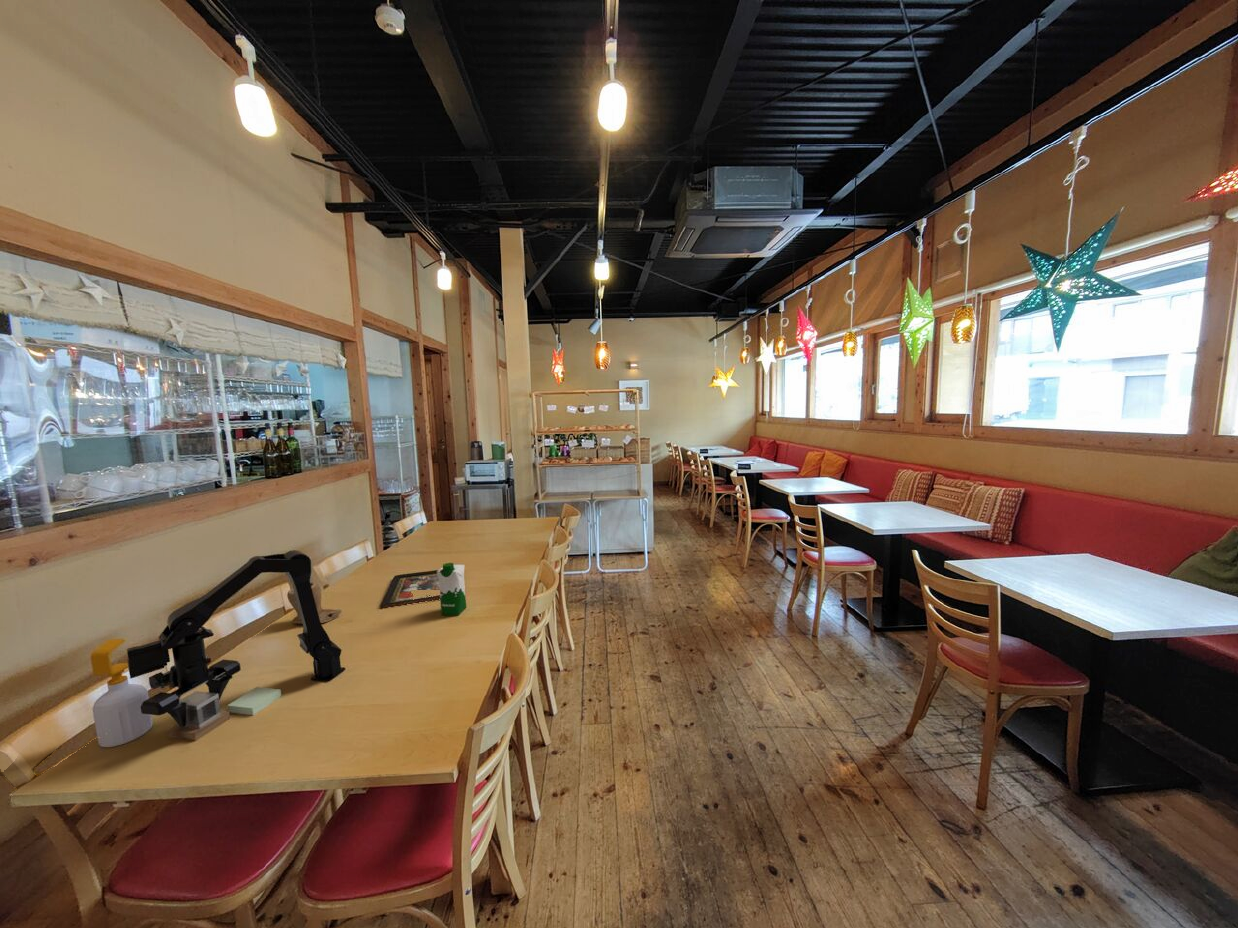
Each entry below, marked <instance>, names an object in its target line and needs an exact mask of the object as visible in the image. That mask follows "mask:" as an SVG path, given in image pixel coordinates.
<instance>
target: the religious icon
mask: <svg viewBox="0 0 1238 928" xmlns="http://www.w3.org/2000/svg"><path fill="white" fill-rule="evenodd" d="M438 570H439V569H436V570H435V569H434V570H427V571H421V572H420V571H418V572H410V573H402V574H397V575H394V576H393V578H392V580H391V581H390V584H389V586H388V587H387V590H386V592H385V595H384V597H383V599H382V601H381V603H380V609H382V610H383V608H384V609H389V608H388V607H391V608H395V607H394V606H398V607H402V606H401V605H405V606H408V605H407V604H411V605H414V604H413V603H418V604H420V603H419V602H425V601H432V600H438V601H440V600H439V599H440V595H436V596H433V597H432V596H431V597H428V596H427V595H426V596H427V597H426V598H425V597H424V598H423V597H421V598H418V599H414V600H413V594H412V593H411V590H440V589H439V579H438V574H437V571H438ZM411 594H412V595H411ZM429 596H430V595H429ZM432 602H433V601H432ZM425 603H426V602H425Z"/></svg>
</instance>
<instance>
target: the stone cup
mask: <svg viewBox="0 0 1238 928" xmlns="http://www.w3.org/2000/svg"><path fill="white" fill-rule="evenodd" d="M310 584H311V588H312V591H313V595H314V599H315V603H316V607H317V611H318V615H319V619H320V622H321V624H324V623H328V622H331V621H332V620H334V619H335V618H338V616H340V615H341V613H342V612H343V610H342V609H331V608H330V609H329V608H328V609H327V608H326V609H323V607H322V593H321V587H320V586H319V584H317V582H314V581H310ZM286 596H287V600H288V602H289V604H290V605H291V606H292V607H293V609H294V610H295V611H296V616H295V617H293V618H292V620H291V622H292V623H293V624H300V625H301V624H302V625H303V623H302V619H301V616H300V612H299V608H298V604H297V601H296V597H295V593H294V589H293V587H292V588H290V589H289V590H288V592H287V595H286Z"/></svg>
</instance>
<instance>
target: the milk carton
mask: <svg viewBox="0 0 1238 928" xmlns="http://www.w3.org/2000/svg"><path fill="white" fill-rule="evenodd" d="M437 570H438V571H437V574H438V579H439V589H440V600H439V601H440V612H441V616H456V617H457V616H460V615H461V614H462V613H463V612H464V611H465V610H466V609H467V600H466V599H467V598H466V588H465V587H466V586H465V564H454V563H453V562H447V563H443V564H442V567H441V568H439V569H437Z"/></svg>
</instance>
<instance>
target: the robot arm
mask: <svg viewBox="0 0 1238 928" xmlns="http://www.w3.org/2000/svg"><path fill="white" fill-rule="evenodd" d="M263 573H278V574H280V573H285V575H286V576H287V578H288V581H290V583H291V586H292V588H293V589H294V593H295V597H296V601H297V604H298V608H299V612H300V616H301V619H302V623H303V624H302V627H303V629H302V633H298V634H297V635H296V636H297V638H298V640H299V647H300V649H302V650H303V651H304V652H305V653H306V654H308V655H309V656H311V657H312V658H313V661H312V665H313V666H312V667H313V673H314V675H312V676H311V677H310V681H311V680H312V681H320V682H330V681H332V680H333V679H335V678H336V677H337V676H339V675H340V674H342V673H343V672H344V671H345V670H346V667H343V666H341V654H342V652H343V651H342V649H341V647H339V646H338V645H337V644H336V643H334V642H333V640H331V639H330V637H329V635H328V633H327V631H326V629H324V626H323V625H322V623H321V622H320V619H319V615H318V611H317V607H316V603H315V599H314V595H313V591H312V588H311V584H310V582H311V576H312V560H311V558H310V557H309V556H308V555H307V554H305V553H303V552H301V551H299V550H295V549H294V550H289V551H287V552H285V553H276V554H275V553H274V554H269V555H255V556H253V557H250V558H249V559H248V561H246V563H244V564H243V565H242V566H241V567H239V568H238V569H236V570H235V571H234V572H233V573H232V574H230V575H229V576H227V577H226V578H225V579H224V580H222V581H221V582H220V583H219V584H216V586H215V587H213V588H211V589H210V590H209V591H208V592H206V593H205V594H204V595H202V596H201V597H198V598H196V599H193V600H192V601H191V600H190V601H189V602H188V603H186V604H184V605H181V606H180V607H179V608H177V609H175V610H174V611H172V612H171V614H169V615H168V617H167V621H166V623H167V625H166V627H165V628H164V629H163V631H162V632H161V633H160V635H159V636H158V640H157V641H153V642H150V643H144V644H142V645H138V646H132V647H128V648H127V649H126V653H127V654H126V655H127V658H128V659H127V662H126V663H128V668H127V669H128V673H129V678H130V679H131V680H132V679H134V678H137V677H141V676H143V675H146V674H149V673H153V672H155V671H159V670H162V669H164V668H165V667H167V666H168V663H170V662H171V658H170V652H169V650H172V651H171V652H172V657H173V663H174V665H172V666H171V667H170V668H169V670H168V671H166V672H164V673H163V672H162V671H161V672H158V673H155V674H153V675H151V676H149V677H148V683H149V687H150V689H153V690H155V689H157V688H161V689H164V688H165V687H168V686H170V687H169V688H170V689H171V688H172V689H175V688H177V689H176V690H173V691H171V692H170V693H169V692H162V691H161V692H159V693H157V694H155V695H152V696H151V697H148V698H149V699H147V700H145V701H144V702H143V703H142V704H141V713H142V714H150V715H151V716H159V717H160V716H163V715H165V714H168V715H170V716H171V718H173V720H174V721H175V722H176V724H177V723H178V724H179V726H180V727H185V726H186V703H183V702H181V699H182V698H181V697H183V696H184V695H187V694H188V693H190V692H192V691H194V690H196V689H197V688H199V687H201V686H203V685H204V684H205V685H206V686H207V689H208V692H210V693H218V696H219V701H220V700H221V698H222V695H223V693H224V691H225V689H226V687H227V685H228V683H229V682H230V680H232V679H233V675H236V674H237V673H239V672H240V671H242V670H241V669H242V668H241V663H240V662H239V661H237V660H233V659H221V660H219V661H217V662H216V663H214V664H212V665H210V666H209V667H208V664H210V663H211V662H212V659H211V657H207V653H206V647H205V640H204V639H208V638H211V637H213V636H214V635H215V633H214V632H213V630H212V629H209V628H206V627H205V624H206V623H207V622H208V621H209V620H210V618H211V617H212V616H213V614H214V613H215V612H216V610H218V608H219V607H220V606H222V605H223V604H224V603H225V602H227V601H228V600H230V599H231V598H232V597H233V596H234V595H235V594H237V593H238V592H240V590H242V589H243V588H244V587H245V586H248V584H249V583H251V582H252V581H253V580H254V579H256V578H257V577H259V575H261V574H263Z"/></svg>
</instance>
